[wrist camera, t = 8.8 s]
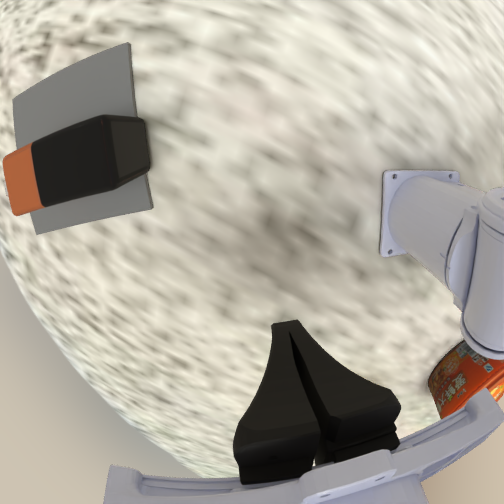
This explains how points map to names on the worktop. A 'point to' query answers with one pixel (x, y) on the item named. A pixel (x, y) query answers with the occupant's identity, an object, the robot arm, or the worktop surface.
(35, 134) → the mat
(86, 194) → the battery
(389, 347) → the worktop surface
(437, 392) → the food container
